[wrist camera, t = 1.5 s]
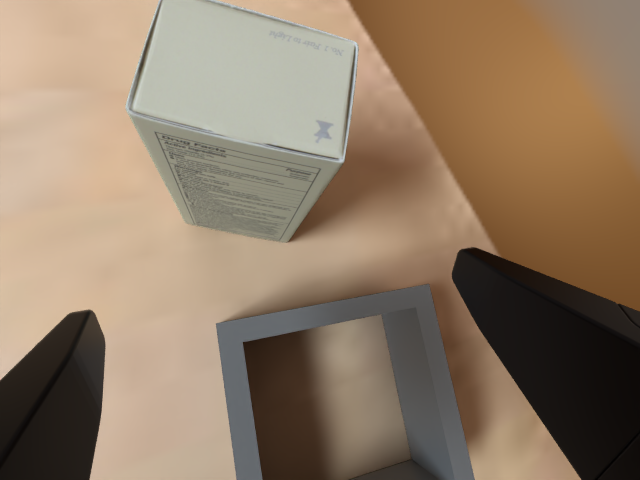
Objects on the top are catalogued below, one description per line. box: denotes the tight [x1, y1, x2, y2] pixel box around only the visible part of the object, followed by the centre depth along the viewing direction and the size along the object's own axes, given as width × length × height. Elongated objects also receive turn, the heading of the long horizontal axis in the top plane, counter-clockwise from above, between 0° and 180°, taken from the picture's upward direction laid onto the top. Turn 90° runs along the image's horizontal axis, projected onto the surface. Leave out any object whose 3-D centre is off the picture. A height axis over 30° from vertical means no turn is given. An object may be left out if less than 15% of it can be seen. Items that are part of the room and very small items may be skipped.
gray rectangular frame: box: [216, 284, 475, 480], centre depth 19 cm, size 10×10×4 cm
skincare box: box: [126, 0, 359, 243], centre depth 17 cm, size 6×4×12 cm
